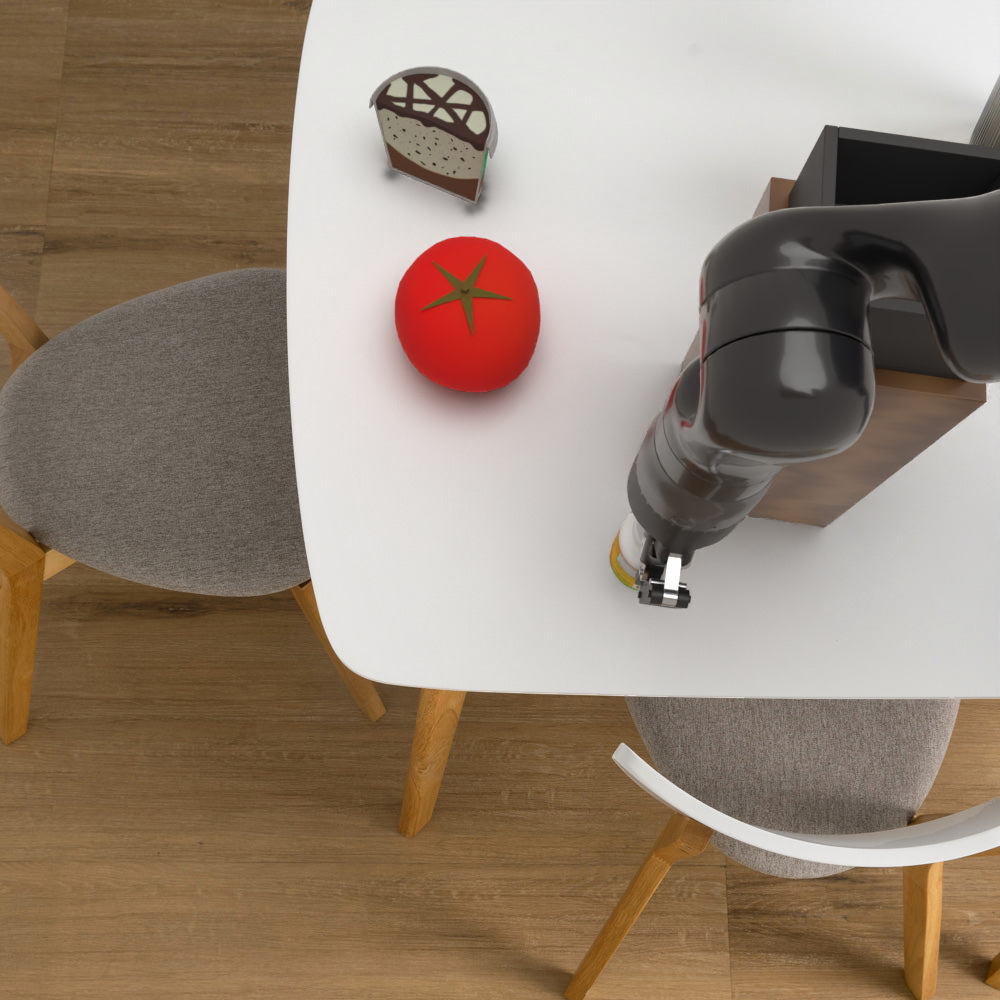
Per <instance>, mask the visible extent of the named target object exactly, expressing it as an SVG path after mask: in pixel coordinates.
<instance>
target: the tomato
mask: <svg viewBox="0 0 1000 1000" xmlns="http://www.w3.org/2000/svg"><path fill="white" fill-rule="evenodd" d="M541 316H542V315H541V302H540V296H539V289H538V286H537V283H536V281H535V279H534V276H533V274H532V271H531V270H530V269H529V268H528V266H527V265H526V264H525V263H524V261H522V259H520V258H519V257H518V256H517V255H515V254H514V253H513V252H512V251H511V250H510V249H508V248H506V247H505V246H503V245H502V244H500V243H499V242H496V241H494V240H491V239H489V238H485V237H479V236H462V235H460V236H456V237H455V236H454V237H448V238H445V239H443V240H441V241H438V242H435V244H433V245H431V246H429V247H428V248H427V249H426V250H424V251H423V252H422V253H421V254H420V255H419V256H418V257H416V258H415V260H414V261H413V262H412V263H411V264H410V266H409V267H408V268H407V269H406V270H405V272H404V275H403V276H402V278H401V279H400V281H399V283H398V287H397V290H396V294H395V299H394V325H395V329H396V334H397V338H398V340H399V342H400V345H401V348H402V349H403V352H404V354H405V355H406V357H407V358H408V360H409V362H410V363H411V364H412V365H413V367H414V368H415V369H416V370H417V371H418V372H419V373H420V374H421V375H422V376H424V377H425V378H427V379H428V380H429V381H431V382H433V383H434V384H436V385H439V386H442V387H444V388H446V389H450V390H453V391H454V390H455V391H458V392H464V393H465V392H466V393H488V392H491V391H495V390H499V389H501V388H505V387H506V386H508V385H510V384H511V383H512V382H514V381H515V380H517V379H518V378H519V377H520V376H521V374H523V372H524V371H525V370H526V369H527V367H528V366H529V364H530V362H531V360H532V357H533V356H534V354H535V350H536V346H537V343H538V340H539V337H540V331H541V330H540V329H541V320H542V319H541Z"/></svg>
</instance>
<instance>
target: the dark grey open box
mask: <svg viewBox="0 0 1000 1000" xmlns="http://www.w3.org/2000/svg"><path fill="white" fill-rule="evenodd" d="M795 180H796V182H795V184H794V186H793V188H792V190H791V192H790V194H789V203H788V208H797V207H811V206H848V205H873V204H887V203H900V202H913V201H928V200H945V199H957V198H966V197H973V196H978V195H982V194H986V193H989V192H992V191H995V190H998V189H1000V148H999V147H991V146H985V145H976V144H970V143H963V142H955V141H949V140H948V141H947V140H941V139H933V138H927V137H926V138H925V137H919V136H913V135H905V134H898V133H889V132H883V131H875V130H870V129H869V130H868V129H861V128H854V127H846V126H838V125H832V124H831V125H830V124H825V125H824V126H823V129H822V130H821V132H820V134H819V136H818V137H817V140H816V141H815V144H814V146H813V147H812V150H811V151H810V153H809V155H808V157H807V159H806V160H805V163H804V165H803V167H802V169H801V170H800V172H799V174H798V176H797V178H796V179H795ZM870 309H871V322H872V336H873V349H874V363H875V368H880V369H887V370H894V371H901V372H908V373H915V374H922V375H929V376H936V377H943V378H950V379H957V380H963V379H961V378H960V377H958V376H957V375H956V374H954V373H953V372H952V371H951V369H950V368H949V367H948V365H947V364H946V362H945V361H944V359H943V357H942V355H941V352H940V350H939V348H938V346H937V344H936V342H935V339H934V337H933V334H932V331H931V328H930V325H929V322H928V319H927V316H926V313H925V310H924V308H923V305H922V303H920V302H916V301H911V300H906V299H898V298H884V299H880V300H876V301H872V302H870ZM964 381H966V380H964Z"/></svg>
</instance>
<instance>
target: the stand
mask: <svg viewBox="0 0 1000 1000" xmlns="http://www.w3.org/2000/svg"><path fill="white" fill-rule="evenodd" d="M796 180H797V179H790V178H785V177H783V178H782V177H776V176H770V179H769V180H768V183H767V185H766V187H765V190H764V191H763V193H762V196H761V198H760V199H759V202H758V204H757V206H756V208H755V210H754V211H753V214H752V216H751V219H752V218H754V217H756V216H759V215H762V214H764V213H768V212H772V211H777V210H781V209H787V208H788V203H789V194H790V192H791V190H792V188H793V186H794V184H795V182H796ZM699 355H700V332H699V328H698V329H697V331H696V334H695V335H694V338H693V340H692V342H691V344H690V346H689V348H688V350H687V352H686V354H685V357H684V359H683V360H682V363H681V372H682V371H683V370H684V369H685V368H686V367H687V366H688V364H689V363H690V362H691V361H693V360H694V359H695V358H697V357H698V356H699ZM681 372H680V373H681ZM875 376H876V394H875V402H874V407H873V411H872V414H871V417H870V419H869V422H868V424H867V426H866V428H865V430H864V432H863V433H862V435H861V436H860V438H859V439H858V440H857V441H856V442H855V443H854V444H853V445H852V446H851V447H849V448H848V449H846V450H845V451H843V452H841V453H839V454H836V455H834V456H831V457H827V458H824V459H820V460H814V461H808V462H802V463H796V464H794V465H791V466H788V467H785V468H783V469H782V470H781V471H780V472H779V473H778V474H777V475H776V476H775V478H774V479H773V481H772V483H771V485H770V487H769V489H768V490H767V492H766V494H765V495H764V496H763V497H762V499H761V500H760V501H759V502H758V503H757V505H756V506H755V507H754V508H753V509H752V510H751V511H750V512H749V513H748V514H747V516H746V517H752V518H758V519H765V520H773V521H778V522H779V521H780V522H785V523H786V522H787V523H793V524H799V525H800V524H801V525H807V526H813V527H819V528H826V527H828V526H829V525H831V524H832V523H833V522H834V521H835V520H837V519H838V518H840V517H841V516H842V515H843V514H845V513H846V512H848V511H849V510H851V509H852V507H854V506H855V505H856V504H857V503H859V502H860V501H862V500H863V499H864V498H866V497H867V496H868V495H869V494H870V493H872V492H873V491H874V490H875V489H878V487H879V486H881V485H882V484H884V483H885V482H886V481H887V480H889V479H890V478H891V477H892V476H894V475H895V474H896V473H897V472H899V471H900V470H902V468H904V467H905V466H907V465H908V464H909V463H910V462H911V461H913V460H914V459H915V458H917V457H918V456H919V455H920V454H922V453H923V452H924V451H926V450H927V449H928V448H929V447H932V445H933V444H934V443H936V442H938V441H939V440H940V439H941V438H943V436H945V435H946V434H948V433H949V432H950V431H951V430H953V429H954V428H955V427H956V426H958V425H960V423H962V422H963V421H964V420H966V419H967V418H968V417H969V416H971V415H973V413H975V412H976V411H977V410H978V409H979V408H981V407H983V406H984V405H985V404H986V403H987V383H973V382H969V381H964V380H957V379H950V378H943V377H936V376H929V375H922V374H915V373H908V372H901V371H894V370H887V369H880V368H875Z"/></svg>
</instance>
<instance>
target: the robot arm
mask: <svg viewBox="0 0 1000 1000" xmlns="http://www.w3.org/2000/svg"><path fill="white" fill-rule="evenodd" d="M884 298H898V299H906V300H911V301H916V302H920V303H922V305H923V308H924V310H925V313H926V316H927V319H928V322H929V325H930V328H931V331H932V334H933V337H934V339H935V342H936V344H937V346H938V348H939V350H940V352H941V355H942V357H943V359H944V361H945V362H946V364H947V365H948V367H949V368H950V369H951V371H952V372H953V373H954V374H956V375H957V376H958V377H960V378H961V379H963V380H966V381H969V382H973V383H986V384H996V383H997V384H998V383H1000V189H998V190H995V191H992V192H989V193H986V194H982V195H978V196H973V197H966V198H957V199H945V200H928V201H913V202H900V203H887V204H873V205H848V206H811V207H797V208H787V209H781V210H777V211H772V212H768V213H764V214H762V215H759V216H756V217H754V218H752V217H751V218H750V219H748V220H746V221H744V222H742V223H741V224H739V225H737V226H736V227H734V228H732V229H731V230H730V231H729V232H727V233H726V234H725V235H724V236H723V237H722V238H720V240H718V241H717V243H716V244H714V245H713V246H712V248H711V250H710V251H709V252H708V254H707V255H706V256H705V259H704V260H703V263H702V266H701V268H700V274H699V280H698V315H699V316H698V318H699V319H698V322H699V323H698V324H699V325H698V329H699V332H700V355H699V356H698V357H697V358H695V359H694V360H693V361H691V362H690V363H689V364H688V366H687V367H686V368H685V369H684V370H683V371H682V370H681V371H682V372H680V374H679V375H678V377H677V379H676V380H675V381H674V383H673V385H672V387H671V388H670V390H669V392H668V395H667V397H666V398H665V401H664V404H663V405H662V409H661V410H660V411H659V412H658V413H657V414H656V416H655V418H653V420H652V421H651V423H650V425H649V427H648V429H647V430H646V433H645V435H644V437H643V440H642V442H641V445H640V447H639V449H638V451H637V453H636V456H635V458H634V460H633V462H632V465H631V468H630V470H629V473H628V477H627V483H626V493H627V500H628V505H629V507H630V510H631V512H633V514H634V516H635V518H636V520H637V521H638V522H639V524H640V525H641V526H642V527H643V528H644V535H643V538H642V542H641V545H640V561H641V562H642V565H641V567H640V569H639V570H638V572H637V573H636V577H635V584H636V585H640V591H639V592H638V591H637V599H638V604H639V605H645V606H654V607H659V608H667V609H675V610H678V609H679V610H683V609H686V610H687V609H688V607H689V606H690V605H689V604H691V601H692V595H691V591H690V589H688V582H687V583H686V582H681V581H680V579H681V571H682V570H687V569H689V568H690V567H691V564H692V561H693V559H694V556H695V553H696V551H697V550H698V551H699V550H702V549H704V548H708V547H710V546H712V545H714V544H717V543H719V542H720V541H722V540H724V539H725V538H726V537H728V536H729V535H730V534H731V533H733V531H734V530H735V529H736V528H737V527H738V526H739V524H741V522H742V521H743V520H744V519H746V517H748V516H747V514H748V513H749V512H750V511H751V510H752V509H753V508H754V507H755V506H756V505H757V503H758V502H759V501H760V500H761V499H762V497H763V496H764V495H765V494H766V492H767V490H768V489H769V487H770V485H771V483H772V481H773V479H774V478H775V476H776V475H777V474H778V473H779V472H780V471H781V470H782V469H783V468H785V467H788V466H791V465H794V464H796V463H802V462H808V461H814V460H820V459H824V458H827V457H831V456H834V455H836V454H839V453H841V452H843V451H845V450H846V449H848V448H849V447H851V446H852V445H853V444H854V443H855V442H856V441H857V440H858V439H859V438H860V436H861V435H862V433H863V432H864V430H865V428H866V426H867V424H868V422H869V419H870V417H871V414H872V411H873V407H874V402H875V394H876V376H875V363H874V349H873V336H872V322H871V309H870V302H872V301H876V300H880V299H884ZM653 543H654V544H653ZM657 565H659V566H657ZM664 566H665V567H664Z"/></svg>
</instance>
